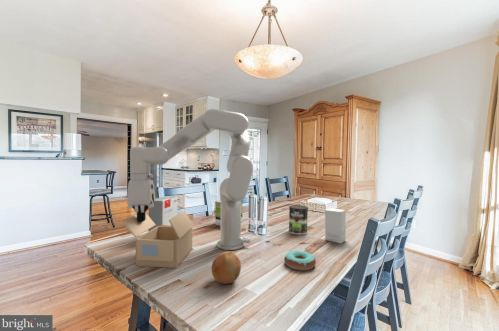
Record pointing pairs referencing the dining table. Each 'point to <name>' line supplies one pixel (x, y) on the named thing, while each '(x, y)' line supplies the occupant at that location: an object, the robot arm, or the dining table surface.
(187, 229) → the flap
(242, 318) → the dining table surface
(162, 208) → the hard drive box
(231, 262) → the onion
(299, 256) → the donut
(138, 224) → the flap
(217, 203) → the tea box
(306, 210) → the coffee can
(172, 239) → the carton
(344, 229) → the skincare box
